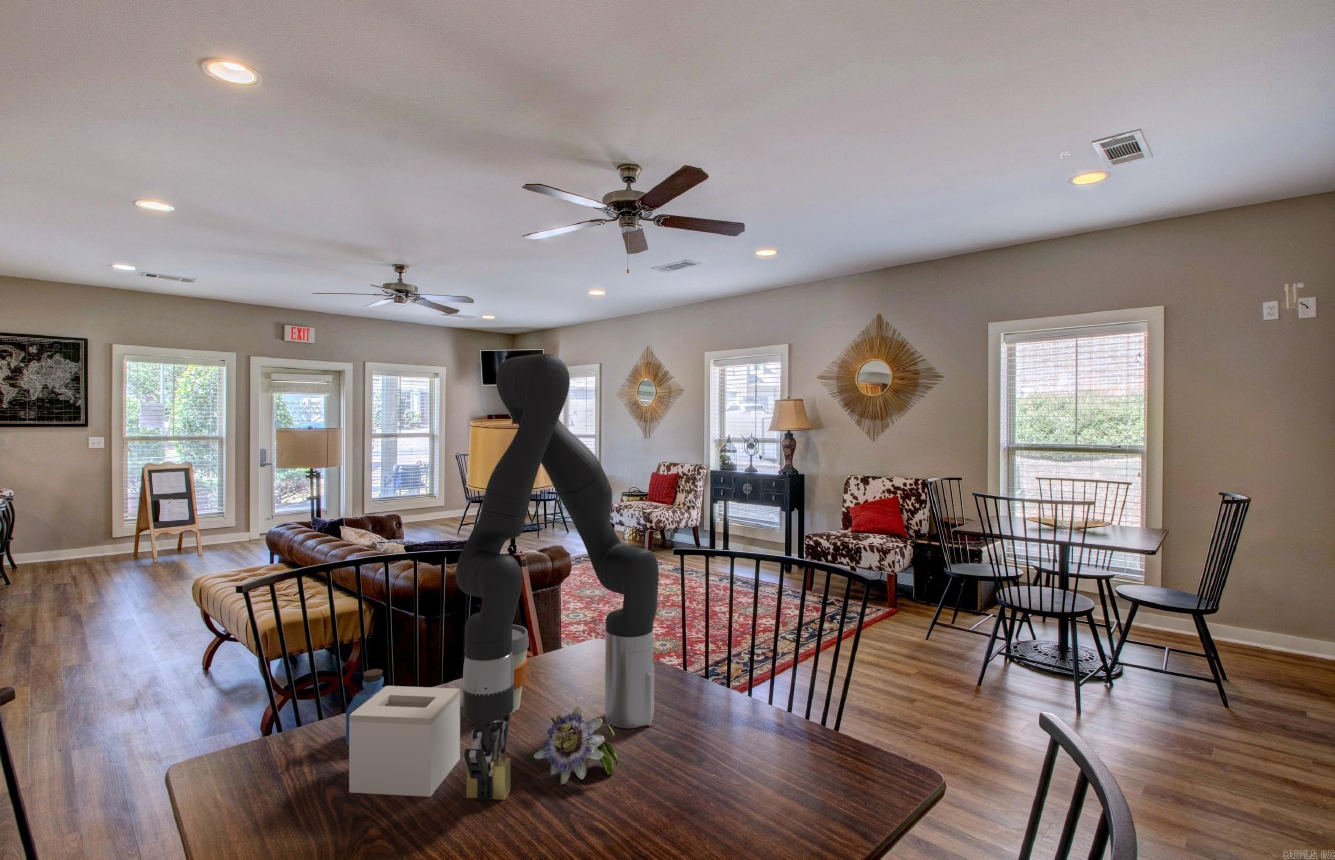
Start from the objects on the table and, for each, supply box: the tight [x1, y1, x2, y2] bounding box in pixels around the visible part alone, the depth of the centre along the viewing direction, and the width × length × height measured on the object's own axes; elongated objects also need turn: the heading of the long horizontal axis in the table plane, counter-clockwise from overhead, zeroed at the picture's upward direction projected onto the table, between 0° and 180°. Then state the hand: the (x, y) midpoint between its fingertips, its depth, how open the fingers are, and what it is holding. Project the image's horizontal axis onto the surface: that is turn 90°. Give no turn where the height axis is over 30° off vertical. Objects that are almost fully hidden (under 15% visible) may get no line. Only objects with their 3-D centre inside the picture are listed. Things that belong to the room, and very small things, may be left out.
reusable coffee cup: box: [463, 624, 530, 715], centre depth 127 cm, size 13×13×15 cm
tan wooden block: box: [466, 757, 511, 801], centre depth 98 cm, size 6×2×5 cm, turn 86°
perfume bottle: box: [345, 668, 385, 746], centre depth 115 cm, size 6×6×12 cm
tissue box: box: [348, 685, 461, 798], centre depth 103 cm, size 13×11×12 cm
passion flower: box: [532, 705, 619, 785], centre depth 105 cm, size 11×11×12 cm
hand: (488, 793), depth 98 cm, fingers closed on tan wooden block, 2 cm apart
